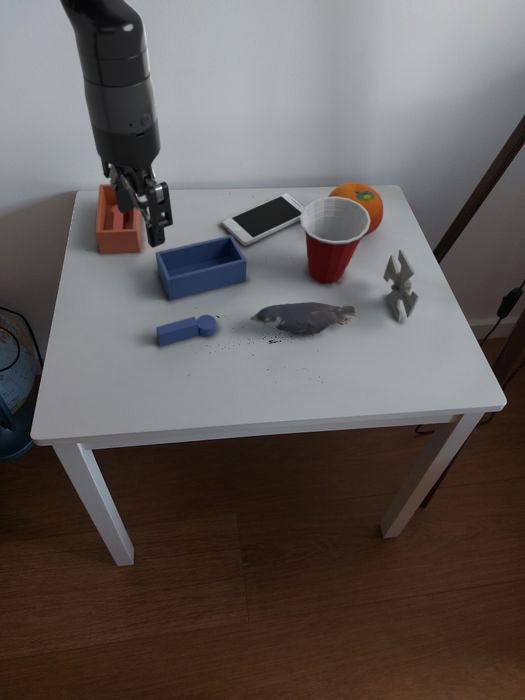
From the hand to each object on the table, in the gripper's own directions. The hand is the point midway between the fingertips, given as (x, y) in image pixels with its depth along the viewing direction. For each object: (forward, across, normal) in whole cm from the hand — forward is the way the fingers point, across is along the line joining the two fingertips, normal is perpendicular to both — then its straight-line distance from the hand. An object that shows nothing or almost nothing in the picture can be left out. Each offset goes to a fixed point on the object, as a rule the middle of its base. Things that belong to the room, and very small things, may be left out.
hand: (141, 226), depth 71 cm
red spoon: (+14, -18, +4) cm, 23 cm away
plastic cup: (+14, +11, +27) cm, 33 cm away
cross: (+14, +23, +31) cm, 42 cm away
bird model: (+15, +18, +16) cm, 28 cm away
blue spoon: (+14, +9, +1) cm, 17 cm away
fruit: (+14, +5, +39) cm, 42 cm away
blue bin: (+14, 0, +9) cm, 17 cm away
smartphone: (+14, -6, +27) cm, 31 cm away
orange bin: (+14, -18, +4) cm, 24 cm away
